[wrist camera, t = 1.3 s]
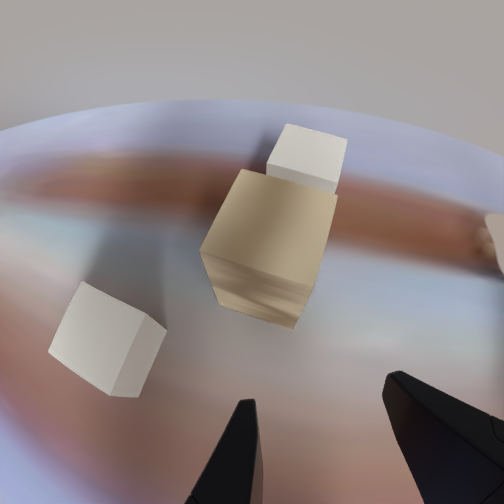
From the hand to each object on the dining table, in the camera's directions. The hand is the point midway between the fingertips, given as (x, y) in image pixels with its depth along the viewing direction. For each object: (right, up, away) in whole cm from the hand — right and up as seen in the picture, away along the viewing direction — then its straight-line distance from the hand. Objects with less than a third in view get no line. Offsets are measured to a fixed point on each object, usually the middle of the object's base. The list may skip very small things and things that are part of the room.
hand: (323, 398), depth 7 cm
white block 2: (+3, +11, +21) cm, 24 cm away
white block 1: (-12, -4, +14) cm, 19 cm away
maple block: (-1, +2, +16) cm, 16 cm away
